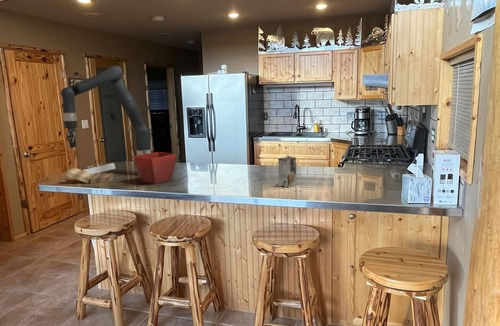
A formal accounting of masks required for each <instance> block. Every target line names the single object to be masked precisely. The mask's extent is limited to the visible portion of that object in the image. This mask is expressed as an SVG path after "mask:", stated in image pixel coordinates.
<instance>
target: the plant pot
mask: <svg viewBox="0 0 500 326" xmlns="http://www.w3.org/2000/svg"><path fill="white" fill-rule="evenodd" d="M133 159H134V163H135V166H136V168H137V169H136V170H137V173H138V172H139V174H140V175H139V174H138V175H139V176H140V179H141V181H142V182H143V183H146V184H147V183H148V184H151V185H156V184H161V183H165V182H170V181H172V178H173V175H174V170H175V165H176V161H177V154H176V153H170V152H164V151H163V152H161V151H155V152H151V153H149V154H142V155H137V154H136V155H133Z"/></svg>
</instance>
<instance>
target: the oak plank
mask: <svg viewBox="0 0 500 326" xmlns="http://www.w3.org/2000/svg"><path fill="white" fill-rule="evenodd" d="M83 170H84V169H79V168H77V167H72V168H70V169H68V170H66V172H65V175H64V176H65V177H68V178H69V179H70V178H71V179H74V180H77V181H79V182H80V181H81V182H83V183H86V184H88V183H90V178H92V177H93V176H94V175H96V174H93V173H90V172H86V171H83Z"/></svg>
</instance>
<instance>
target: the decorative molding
mask: <svg viewBox="0 0 500 326" xmlns="http://www.w3.org/2000/svg"><path fill="white" fill-rule="evenodd" d="M115 169H116V166H115V163H114V162H112V163H107V164H103V165H98V166H95V167H91V168H85V169H82V170H83V171H86V172H90V173H93V174H95V173H96V174H101V173H103V172H107V171H112V170H115ZM96 174H95V175H96Z"/></svg>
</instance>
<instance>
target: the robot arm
mask: <svg viewBox="0 0 500 326" xmlns="http://www.w3.org/2000/svg"><path fill="white" fill-rule="evenodd" d="M123 74H124V73H123V69H122V67H120V66H119V65H111V66H109V67H108V68H107V69H105V70H103V71H102V72H100V73H98V74H96V75H93V76H91V77H88V78H85V79H83V80H80V81H78V82H75V84H71V85H69V86H66V87H64V88H62V89H61V90H60V96H61V99H62V113H63V114H62V115H63V117H62V118H63V119H62V120H63V127H64V128H65V129H67V131H66V132H65V136H66V139H67V142H69V148H70V149H74V148H77V140H78V130H76V129H77V128H78V127H79V126H78V118H77V116H78V115H77V112H76V111H77V110H76V106H75V105H76V104H75V103H76V102H75V99H76V98H75V97H77V96H78V95H81V94H84V93H87V92H90V91H91V90H93V89H95V88H98V87H99V86H101V85H103V84H105V83H107V82H110V84H111V85H112V87H113V90H114V91H115V93H116V96H117V98H118V100H119V102H120V105H121V107H122V110H123V111H124V113H125V114H126V115H125V116H127V117H128V119H129V120H130V122H131V125H132V128H133V130H134V132H135V133H134V134H135V135H134V136H135V137H134V138H135V146H136V155H142V154H149V153H152V152H151V147H152V146H151V136H150V130H149V128H148V127H147V125H146V123H145V122H144V120H143V118H142V116H141V112H140V109H139V106H138V104H137V102H136V99H135V98H134V95H132V93H131V92H130V90H129V89H128V88H127V86H126V84H125V82H124V80H123ZM137 173H138V176H140V174H139V172H138V171H137Z"/></svg>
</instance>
